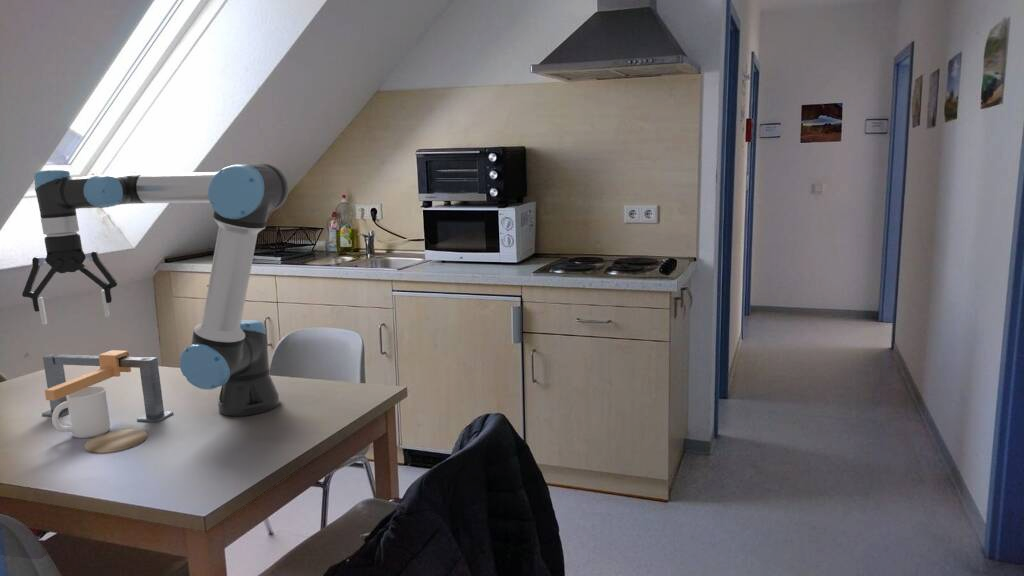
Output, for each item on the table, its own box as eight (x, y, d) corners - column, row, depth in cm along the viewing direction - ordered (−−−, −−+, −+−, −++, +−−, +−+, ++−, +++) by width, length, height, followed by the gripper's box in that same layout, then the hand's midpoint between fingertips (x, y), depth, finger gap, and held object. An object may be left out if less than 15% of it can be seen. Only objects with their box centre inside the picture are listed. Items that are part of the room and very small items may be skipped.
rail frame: (173, 414, 195) (166, 356, 192) (157, 422, 190) (150, 362, 187) (60, 407, 204) (52, 352, 201) (42, 415, 198) (33, 358, 195)
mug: (59, 446, 176) (52, 404, 174) (51, 437, 182) (44, 396, 180) (115, 431, 184) (109, 391, 182) (105, 423, 190) (99, 384, 188)
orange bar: (131, 371, 195) (128, 350, 194) (59, 400, 173) (56, 377, 172) (114, 370, 196) (111, 350, 195) (41, 399, 174) (37, 376, 173)
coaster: (159, 433, 182) (158, 430, 182) (119, 454, 170) (119, 452, 170) (113, 430, 185) (112, 427, 185) (71, 451, 173) (71, 448, 173)
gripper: (120, 228, 191) (133, 310, 195) (4, 238, 182) (20, 324, 186) (118, 230, 184) (131, 315, 188) (-3, 241, 175) (14, 330, 179)
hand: (76, 320), depth 187 cm, fingers open, 13 cm apart
